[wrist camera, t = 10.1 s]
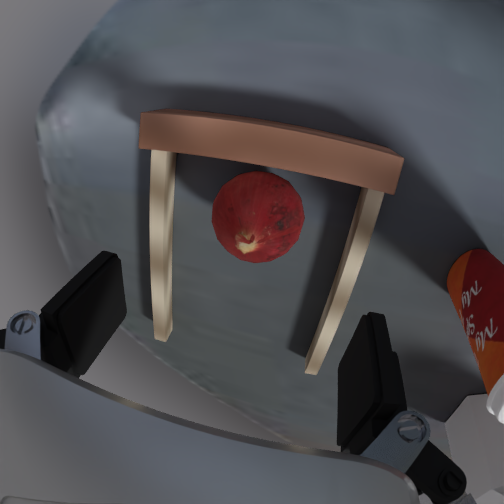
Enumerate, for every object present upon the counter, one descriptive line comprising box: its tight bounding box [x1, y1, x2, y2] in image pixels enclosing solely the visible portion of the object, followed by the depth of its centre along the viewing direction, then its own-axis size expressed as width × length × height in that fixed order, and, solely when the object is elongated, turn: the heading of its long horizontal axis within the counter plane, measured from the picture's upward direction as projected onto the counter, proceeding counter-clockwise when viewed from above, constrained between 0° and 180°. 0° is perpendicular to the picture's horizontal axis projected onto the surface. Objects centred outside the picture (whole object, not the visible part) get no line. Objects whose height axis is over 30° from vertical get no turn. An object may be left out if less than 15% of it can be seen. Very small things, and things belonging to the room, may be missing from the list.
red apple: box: [212, 171, 305, 263], centre depth 20 cm, size 6×6×8 cm
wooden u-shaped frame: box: [139, 109, 404, 375], centre depth 24 cm, size 21×16×4 cm
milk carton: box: [445, 394, 504, 504], centre depth 24 cm, size 7×7×19 cm
